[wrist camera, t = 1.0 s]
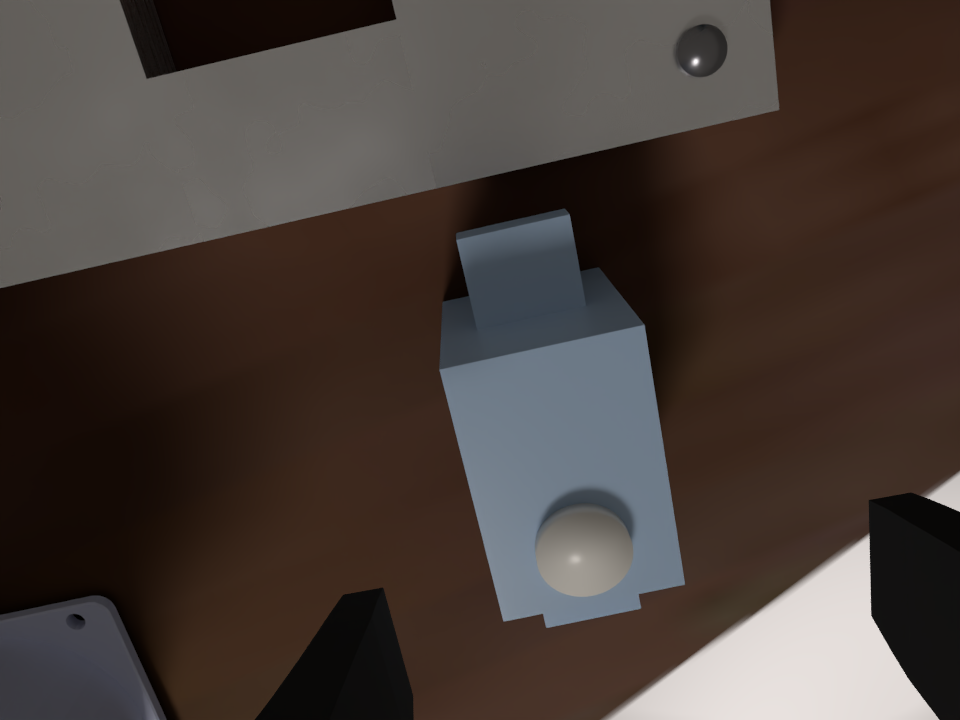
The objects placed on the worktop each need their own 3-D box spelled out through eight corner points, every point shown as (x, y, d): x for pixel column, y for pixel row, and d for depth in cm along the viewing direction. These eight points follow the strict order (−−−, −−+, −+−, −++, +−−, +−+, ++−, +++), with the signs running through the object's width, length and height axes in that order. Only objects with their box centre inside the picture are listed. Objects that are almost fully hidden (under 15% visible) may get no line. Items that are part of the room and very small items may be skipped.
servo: (507, 564, 22) (523, 706, 17) (423, 224, 19) (413, 275, 14) (644, 536, 22) (701, 670, 17) (584, 187, 19) (633, 225, 14)
